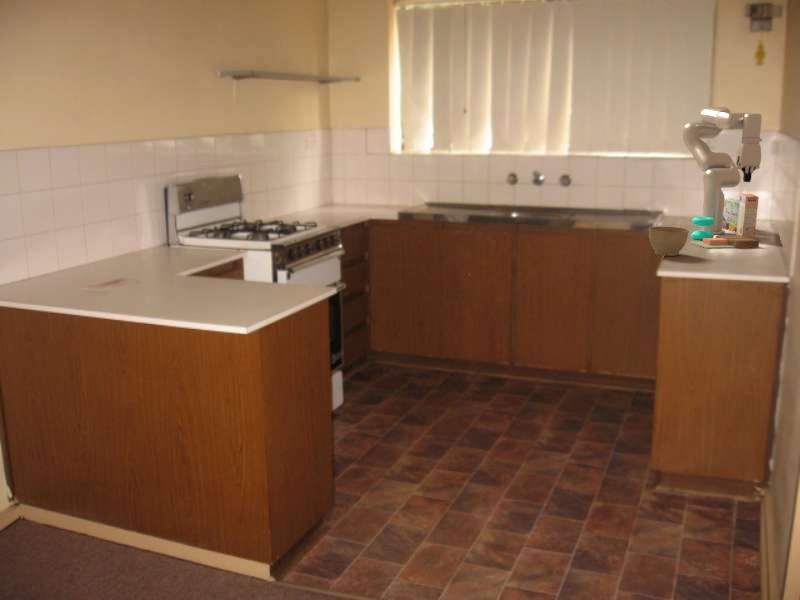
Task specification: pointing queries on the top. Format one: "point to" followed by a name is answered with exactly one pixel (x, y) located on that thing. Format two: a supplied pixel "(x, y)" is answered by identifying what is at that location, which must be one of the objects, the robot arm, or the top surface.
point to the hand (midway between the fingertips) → (746, 181)
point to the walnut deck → (740, 241)
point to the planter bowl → (668, 240)
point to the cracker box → (747, 215)
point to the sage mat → (711, 245)
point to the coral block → (715, 241)
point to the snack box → (730, 214)
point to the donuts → (702, 222)
